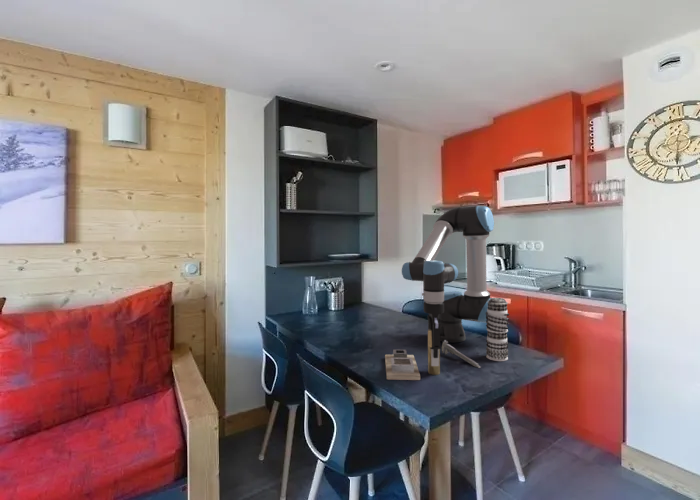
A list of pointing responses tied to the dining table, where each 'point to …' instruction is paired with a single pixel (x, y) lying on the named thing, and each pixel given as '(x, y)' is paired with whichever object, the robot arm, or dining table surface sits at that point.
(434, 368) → the brass cylinder
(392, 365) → the fitting board
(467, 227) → the robot arm
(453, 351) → the caliper
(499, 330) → the decorative candle
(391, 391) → the dining table surface
